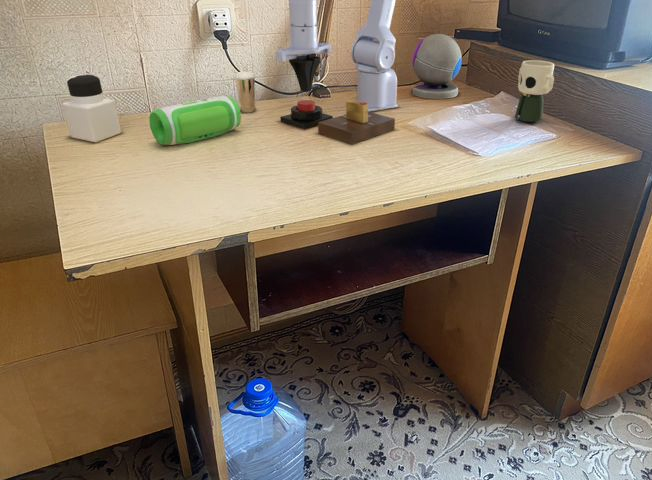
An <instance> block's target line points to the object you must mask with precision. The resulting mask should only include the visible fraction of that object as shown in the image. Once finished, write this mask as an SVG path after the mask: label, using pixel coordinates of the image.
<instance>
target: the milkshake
mask: <svg viewBox="0 0 652 480" xmlns="http://www.w3.org/2000/svg"><path fill="white" fill-rule="evenodd" d="M234 79H235V84H236V89H237V96H238V101H239V108H240V112H241V113H254V112H255V110H256V105H255V104H256V102H255V101H256V99H255V98H256V97H255V95H256V94H255V92H256V90H255V83H256V82H255V81H256V80H255V79H256V76H255V74H254V73H253V72H252V71H249V64H246V70H245V71H238V72H237V73H235V75H234Z"/></svg>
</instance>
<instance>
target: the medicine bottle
mask: <svg viewBox="0 0 652 480" xmlns="http://www.w3.org/2000/svg"><path fill="white" fill-rule="evenodd" d="M66 84H67V88H68V93H69V96H70V99H71V100H68V101H64V102H62V104H61V105H62V108H63V112H64V116H65V120H66V124H67V128H68V131H69V135H70V138H71V139H77V140H82V141H87V142H90V143H91V142H92V143H99V142H101V141H104V140H107V139H109V138H112V137H114V136H117V135H120V134H122V129H121V125H120V120H119V116H118V111H117V107H116V102H115V99H112V98H105V97H104V92H103V88H102V83H101V79H100V77H98V76H97V75H93V74H76V75H73V76H70V77H69V78H67V80H66Z"/></svg>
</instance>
